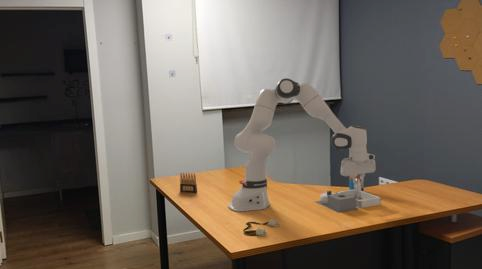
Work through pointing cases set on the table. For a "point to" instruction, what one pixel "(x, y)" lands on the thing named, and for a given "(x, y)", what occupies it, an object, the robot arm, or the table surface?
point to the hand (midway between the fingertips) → (358, 182)
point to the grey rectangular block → (338, 201)
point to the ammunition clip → (188, 183)
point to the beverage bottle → (353, 185)
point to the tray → (369, 198)
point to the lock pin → (358, 187)
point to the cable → (261, 231)
